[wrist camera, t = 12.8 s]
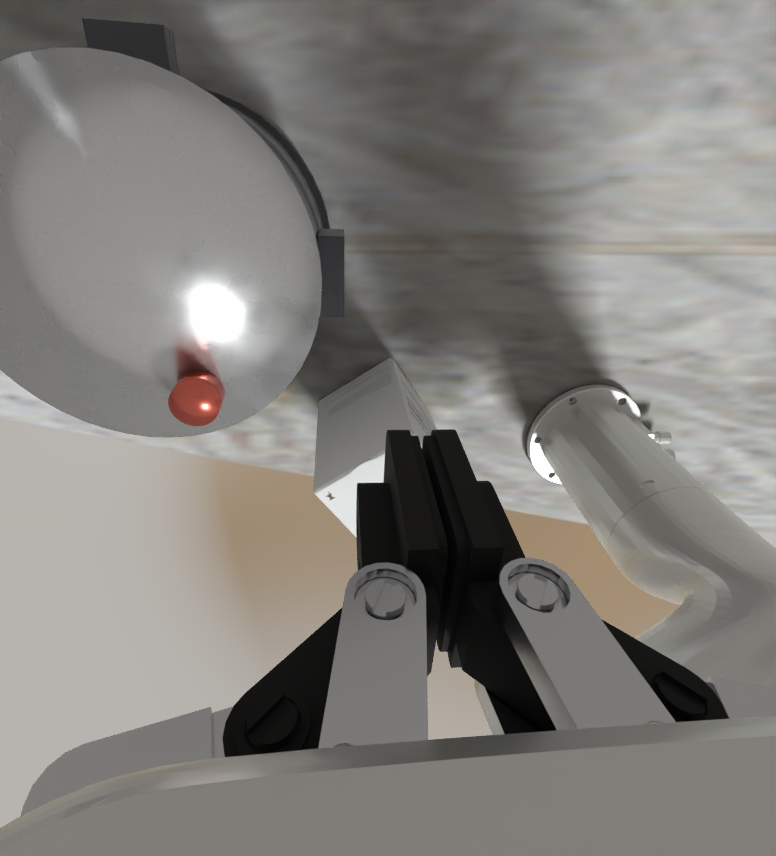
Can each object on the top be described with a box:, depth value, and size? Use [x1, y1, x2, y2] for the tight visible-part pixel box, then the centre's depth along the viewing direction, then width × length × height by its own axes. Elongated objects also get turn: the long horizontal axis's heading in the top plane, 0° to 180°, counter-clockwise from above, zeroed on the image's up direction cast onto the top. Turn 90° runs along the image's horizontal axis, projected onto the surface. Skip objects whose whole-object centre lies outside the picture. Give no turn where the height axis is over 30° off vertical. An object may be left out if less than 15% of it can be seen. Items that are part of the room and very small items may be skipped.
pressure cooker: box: [82, 19, 344, 317], centre depth 33 cm, size 22×24×12 cm
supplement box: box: [313, 358, 437, 538], centre depth 42 cm, size 9×9×15 cm
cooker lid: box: [0, 47, 322, 437], centre depth 26 cm, size 23×21×4 cm
